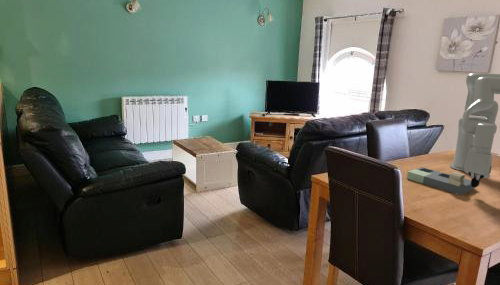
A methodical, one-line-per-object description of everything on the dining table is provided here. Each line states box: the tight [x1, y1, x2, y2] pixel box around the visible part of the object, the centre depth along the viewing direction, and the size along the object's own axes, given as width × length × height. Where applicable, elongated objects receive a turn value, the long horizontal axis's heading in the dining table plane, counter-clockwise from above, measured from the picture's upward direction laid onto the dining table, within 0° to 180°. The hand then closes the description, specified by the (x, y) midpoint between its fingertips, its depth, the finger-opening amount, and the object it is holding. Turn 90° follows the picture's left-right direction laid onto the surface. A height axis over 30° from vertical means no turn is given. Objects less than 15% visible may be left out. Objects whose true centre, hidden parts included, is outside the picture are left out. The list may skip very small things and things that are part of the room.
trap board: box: [406, 166, 476, 196], centre depth 189 cm, size 15×28×4 cm, turn 37°
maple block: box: [448, 171, 466, 186], centre depth 177 cm, size 5×5×5 cm
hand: (474, 186), depth 173 cm, fingers closed
